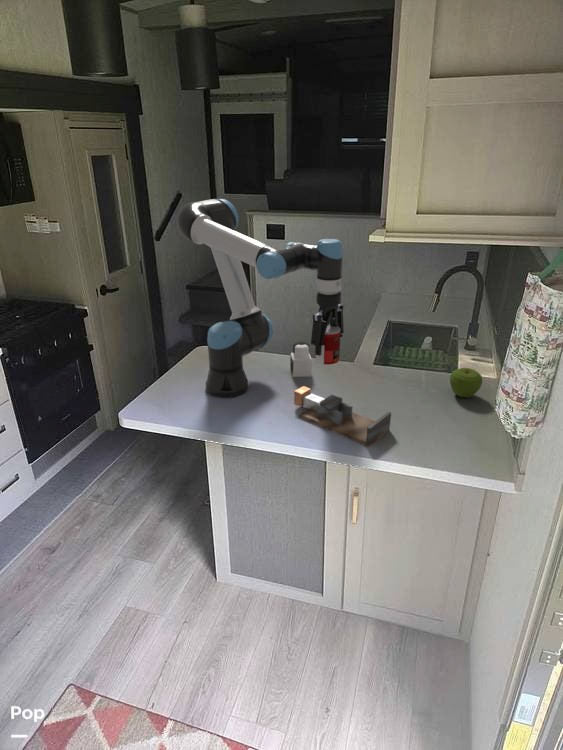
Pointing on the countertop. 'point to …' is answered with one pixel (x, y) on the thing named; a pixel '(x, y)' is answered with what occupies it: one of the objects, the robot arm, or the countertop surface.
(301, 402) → the shaft
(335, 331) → the canned food
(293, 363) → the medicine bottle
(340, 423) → the bearing rail
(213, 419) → the countertop surface
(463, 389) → the apple
